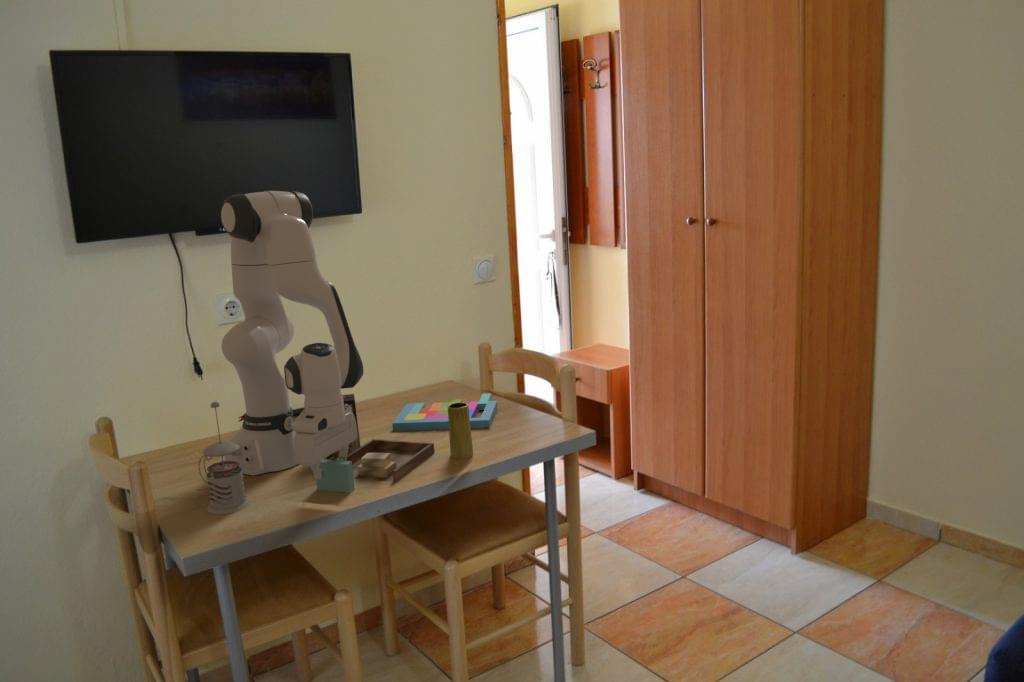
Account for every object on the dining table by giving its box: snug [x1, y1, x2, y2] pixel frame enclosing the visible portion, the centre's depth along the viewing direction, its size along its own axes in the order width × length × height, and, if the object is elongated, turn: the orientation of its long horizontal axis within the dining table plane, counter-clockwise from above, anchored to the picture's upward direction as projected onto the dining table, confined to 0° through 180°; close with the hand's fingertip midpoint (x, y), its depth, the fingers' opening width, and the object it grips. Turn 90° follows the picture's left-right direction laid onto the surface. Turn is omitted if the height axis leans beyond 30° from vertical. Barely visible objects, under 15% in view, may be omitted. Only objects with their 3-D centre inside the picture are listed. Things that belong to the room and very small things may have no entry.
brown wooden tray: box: [346, 438, 435, 483], centre depth 218 cm, size 18×21×4 cm
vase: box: [448, 401, 474, 460], centre depth 220 cm, size 6×6×14 cm
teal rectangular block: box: [315, 458, 355, 494], centre depth 202 cm, size 9×2×8 cm, turn 69°
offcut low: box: [357, 462, 397, 478], centre depth 212 cm, size 8×5×2 cm, turn 69°
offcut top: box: [361, 453, 391, 467], centre depth 212 cm, size 6×4×2 cm, turn 77°
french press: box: [197, 401, 252, 515], centre depth 198 cm, size 10×12×25 cm
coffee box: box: [326, 393, 362, 460], centre depth 227 cm, size 9×6×16 cm
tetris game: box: [391, 392, 498, 432], centre depth 260 cm, size 28×3×28 cm
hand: (330, 471), depth 202 cm, fingers open, 8 cm apart
